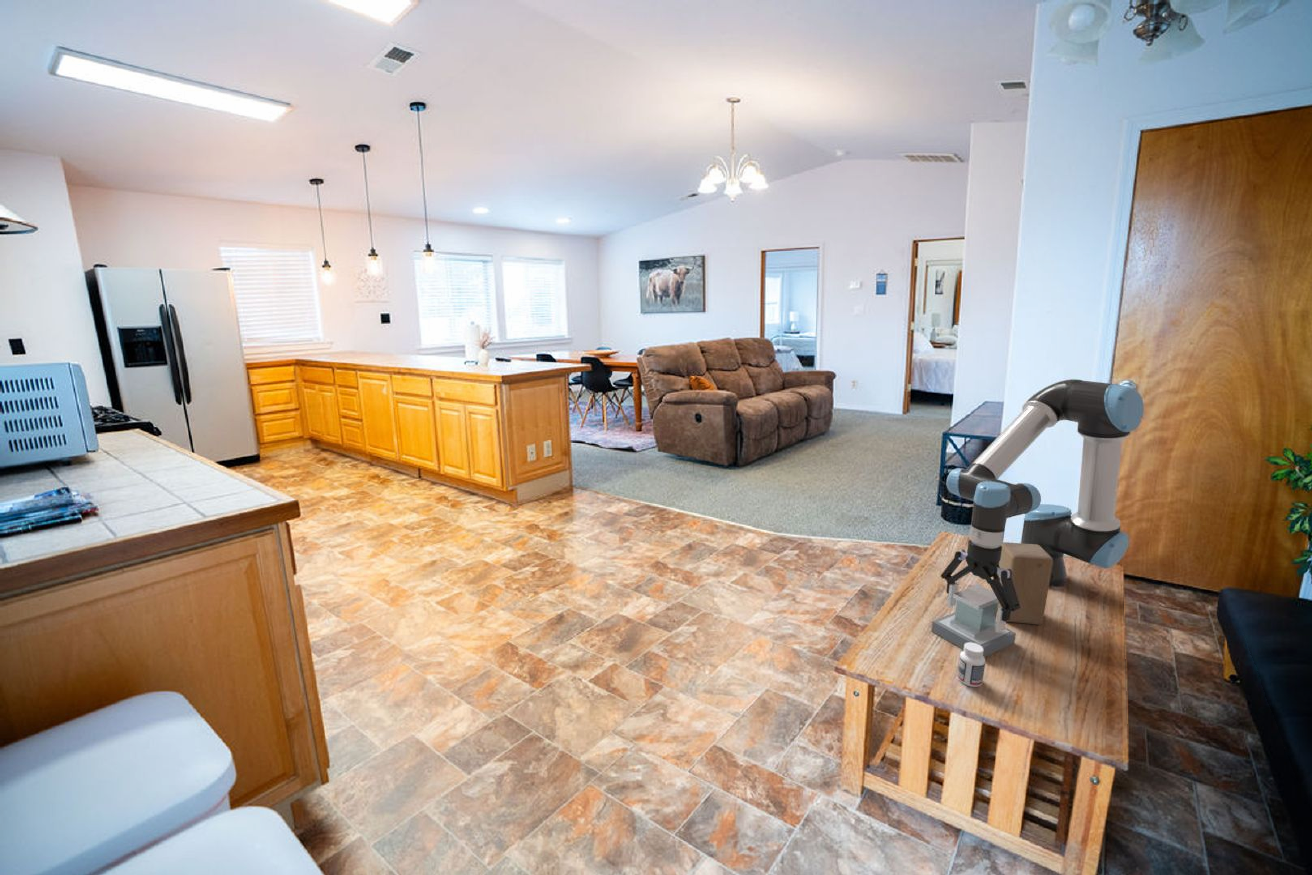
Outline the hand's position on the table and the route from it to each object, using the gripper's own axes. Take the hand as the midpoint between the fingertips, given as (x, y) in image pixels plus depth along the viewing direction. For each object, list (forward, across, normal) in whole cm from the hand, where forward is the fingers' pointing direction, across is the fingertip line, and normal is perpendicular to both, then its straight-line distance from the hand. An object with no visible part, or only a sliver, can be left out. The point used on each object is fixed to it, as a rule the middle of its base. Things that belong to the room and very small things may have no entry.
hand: (974, 617), depth 155 cm
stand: (+6, 0, 0) cm, 6 cm away
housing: (+3, 0, 0) cm, 3 cm away
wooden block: (+6, -1, +21) cm, 22 cm away
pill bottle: (+6, +11, -17) cm, 21 cm away
